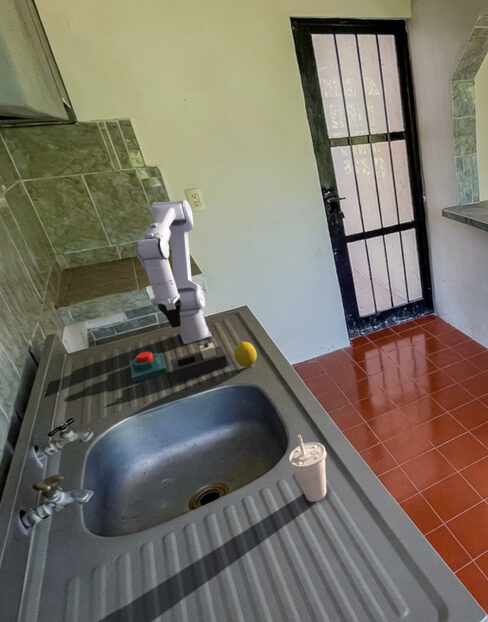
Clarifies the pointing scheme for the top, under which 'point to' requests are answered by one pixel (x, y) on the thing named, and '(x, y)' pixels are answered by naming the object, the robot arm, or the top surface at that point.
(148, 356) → the power button
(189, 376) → the dark grey slotted block
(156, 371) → the switch block
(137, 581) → the top surface
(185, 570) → the top surface
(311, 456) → the smoothie
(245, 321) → the top surface
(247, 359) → the lemon
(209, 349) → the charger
